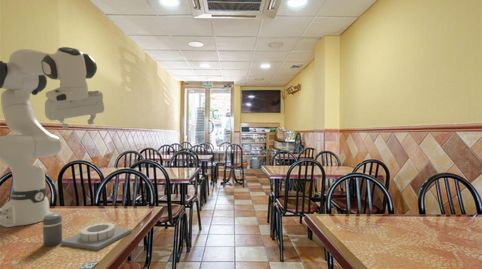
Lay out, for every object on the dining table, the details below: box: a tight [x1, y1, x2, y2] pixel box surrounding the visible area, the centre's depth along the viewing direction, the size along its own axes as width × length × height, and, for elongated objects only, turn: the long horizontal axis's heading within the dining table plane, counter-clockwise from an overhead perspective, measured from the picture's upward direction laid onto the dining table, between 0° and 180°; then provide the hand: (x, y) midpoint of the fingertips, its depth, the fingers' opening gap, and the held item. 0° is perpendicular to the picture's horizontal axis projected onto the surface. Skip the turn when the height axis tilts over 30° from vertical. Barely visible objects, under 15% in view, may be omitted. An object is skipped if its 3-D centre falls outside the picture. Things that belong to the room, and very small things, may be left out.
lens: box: [42, 212, 63, 248], centre depth 91 cm, size 6×6×10 cm
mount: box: [60, 222, 132, 251], centre depth 95 cm, size 16×16×4 cm
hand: (78, 126), depth 103 cm, fingers open, 8 cm apart
